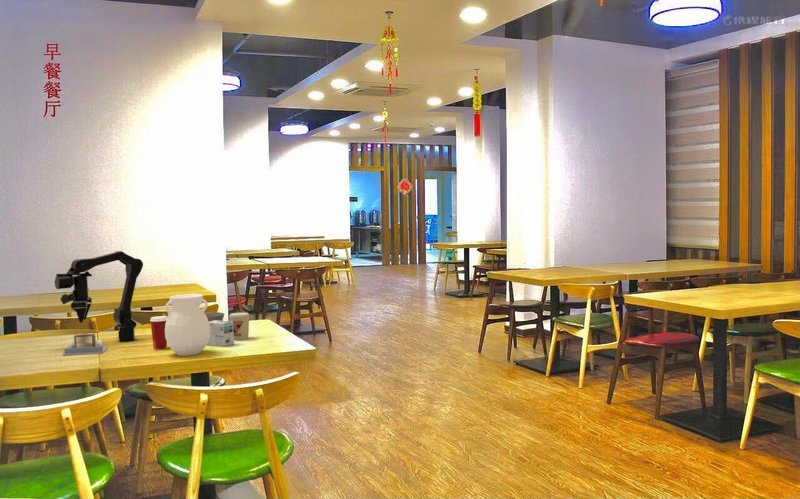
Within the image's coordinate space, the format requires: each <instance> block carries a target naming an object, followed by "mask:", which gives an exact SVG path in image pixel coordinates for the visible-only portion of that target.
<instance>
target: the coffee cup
mask: <svg viewBox="0 0 800 499" xmlns="http://www.w3.org/2000/svg"><path fill="white" fill-rule="evenodd" d="M228 318H229V321H233V333H234V341H246V340H248V339H249V334H250V333H249V330H250V328H249V327H250V326H249V325H250V314H249V313H248V312H234V313H233V312H232V313H230V314H229V316H228ZM245 339H246V340H245Z"/></svg>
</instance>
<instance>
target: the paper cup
mask: <svg viewBox="0 0 800 499" xmlns="http://www.w3.org/2000/svg"><path fill="white" fill-rule="evenodd" d="M167 318H168V315H166V316H165V315H160V316H159V315H158V316H151V317H150V320H149V321H150V326H151V327H150V328H151V336H152V337H151V338H152V346H153V350H156V351H157V350H164V349H165V350H166V349H167V346H168V343H167V341H166V338H165V324H166V321H167Z"/></svg>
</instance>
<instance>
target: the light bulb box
mask: <svg viewBox="0 0 800 499" xmlns="http://www.w3.org/2000/svg"><path fill="white" fill-rule="evenodd" d="M209 324H210V339H209V342H208V344H207V345H206V346H209V347H210V346H214V347H223V348H224V347H228V346H232V345H234V344H235V340H234V333H233V321H230V320H223V321H217V320H214V321H209Z"/></svg>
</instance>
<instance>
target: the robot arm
mask: <svg viewBox="0 0 800 499" xmlns="http://www.w3.org/2000/svg"><path fill="white" fill-rule="evenodd" d="M116 261H118V262H119V263H121V264H122V265H125V268H124V269H125V275H126V278H125V281H124V287H123V290H122V291H123V292H122V295H121V300H120V304H119V306H118V307H117V308H114V312H113V315H112V318H113V322H114V323H115V324H116V325H117V326H118V328H119V330H118V334H117V335H118V340H119V342H133V341H135V340H136V334H135V331H136V330H135V328H136V327H137V322H135V321H134V320H133V319H132V313H133V312H132V309H131V306H132V301H133V296H134V293H135V292H134V291H135V287H136V283H137V278H138V277H139V275H140V274H141V272H142V270H143V267H144V262H143V261H142V259H140V258H135V257H133V256H131V255H129V254H127V253H125V252H124V251H122V250H121V251H119V250H118V251H115V252H112V253H108V254H102V255H99V256H95V257H92V258H79V259H78V258H76V259H74V260H72V262H71V264H70V268H69V269H68V271H67V272H66V273H56V274H55V280H54V286H55V289H56V290H61V289H62V290H63V289H70V288H71V289H72V287H73V290H72V292H71V293H69V294H67V293H65V294H62V295H61V297H60V298H59V299H60V302H61V303H62V305H66V304H68V303H69V302H71V304H70V308H71V309H72V310H73V311H75V314H76V316H77V318H78V321H79V323H81V324H82V323H84V320H86V319H87V317H88V314H89V311H90V310H91V307H92V303H93V298H92V297H91V296H89V291H90V290H89V289H90V288H89V286H88V285H89V284H88V277H93V274H92V273H90V272H89V271H90V270H91V269H93V268H94V267H97V266H101V265H104V264H105V265H106V264H108V263H112V262H116Z"/></svg>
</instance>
